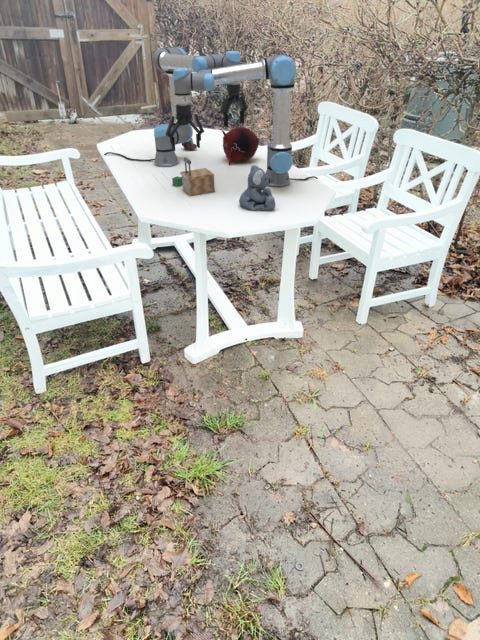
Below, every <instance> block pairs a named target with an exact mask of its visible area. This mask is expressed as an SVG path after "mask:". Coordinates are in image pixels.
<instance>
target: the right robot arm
mask: <svg viewBox="0 0 480 640" xmlns="http://www.w3.org/2000/svg"><path fill="white" fill-rule="evenodd" d="M296 76H297V65H296V63H295V61H294V59H293V58H291V57H290V56H288V55H286V54H284V53H281V54H275V55H272V56H268V57H264V58H262V59H261V60H259V61H253V62H246V63H240V65H233V66H227V67H221V68H214V69H208V70H200V71H198V72H197V73H196V72H193V73H192V72H190V71H189V70H188V69H185V68H179V69H175V70H174V71H173V77H174V91H175V103H176V104H177V105H176V116H172V114H171V115H170V116H169V123H168V124H169V125H168V128H167V131H166V136H168V137H169V138H170V144H172V150H173V151H174V152H176V145H175V140H174V137H173V135H174V134H175V132H176V131H177V129H178V128H179V126H180V125H184V124H190V125H191V127H192V129H193V131H195V132H196V134H195V142H196V143H195V144H196V147H197V149H200V148H201V145H200V144H201V142H200V141H202V134H204V133H205V129H204V128H203V126H202V124H201V121H200V120H199V117H198V114H197V113H192V105H191V92H210V91H214V89H215V86H219V85H227V84H228V83H233V82H240V83H241V82H246V81H253V80H259V79H260V80H261V79H263V80H265V81H268V80H270V89H271V91H272V93H273V102H272V103H273V105H272V140H269V141H268V142H267V146H266V148H267V151H266V152H267V153H266V171H265V173H266V174H267V177H268V178H269V179H270V183H269V184H268V185H267V187H273V188H283V187H286V186H288V185H290V184H291V181H307V180H308V179H313V178H314V179H316V180H319V178H318V177H317V176H314V175H313V176H307V177H305V178H290V174H289V171H290V170H291V168H293V163H294V162H293V161H294V159H293V157H292V155H293V145H292V143H290V133H291V131H290V129H291V105H292V104H291V103H292V101H291V100H292V98H291V97H292V91H293V89H295V80H296V79H295V78H296ZM175 119H177V122H176V124H175V126H174V128H173V129H172V126H173V123H174V121H175ZM192 119H193V120H194V121H195V123H196V125H195V124H194V122H193V121H192ZM171 129H172V131H171Z"/></svg>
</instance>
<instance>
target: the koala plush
mask: <svg viewBox="0 0 480 640" xmlns="http://www.w3.org/2000/svg"><path fill="white" fill-rule="evenodd" d="M269 183H270V179H269V178H268V177H267V174H266V171H265V170H264V169H263V168H261V167H259V165H257V164H253V165H250V170H249V173H248V176H247V188H246V189H245V190H244V191H243V192H242V193H241V194H240V197H239V199H238V203H239V204H240V206H241V207H242V208H246V209H247V210H252V211H255V210H261V211H272V210H274V209H275V208H276V200H275V198H274V196H273V194H272V191H271V188H270V187H268V186H267V185H268V184H269Z"/></svg>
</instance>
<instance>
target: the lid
mask: <svg viewBox="0 0 480 640" xmlns="http://www.w3.org/2000/svg"><path fill="white" fill-rule="evenodd" d="M182 160H183V162H184V171H183V170H182V171H179V175H180V176H181V177H182V176H183V177H184V178H186V179H187V180H192V179H199V178H205V177H212V176H214V177H215V173H214V172H212V171H211V170H209V169H208V168H206V167H204V168H198V169H191V164H192V160H190V159H189V158H187V157H186V156H185V157H183V159H182ZM187 165H188V167H187Z"/></svg>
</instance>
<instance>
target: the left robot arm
mask: <svg viewBox="0 0 480 640" xmlns="http://www.w3.org/2000/svg"><path fill="white" fill-rule="evenodd" d="M151 61H152V64H153V67H154V68H155V69H157V70H158V71H161V72H165V74H166V75H167V76H168V83H169V95H170V107H171V115H172V116H176V105H177V104H176V103H175V91H174V77H173V71H174V70H175V69H179V68H185V69H188V70H189V72H194V73H197V72H198V71H200V70H208V69H214V68H221V67H227V66H233V65H240V64H241V52H240V51H238V50H228V51H226V53H225V54H219V53H216V54H215V53H214V54H211V55H189V54H187V52H186V51H185V50H184V49H183V48H182V47H180V46H179V47H176V46H175V47H162V48H158V49H156V50H155V51H154V52H153V54H152V59H151ZM226 91H227V94H223V99H222V103H221V108H220V111H219V114H221V115H222V120H223V127H224V128H229V114H228V113H229V110H230V108H231V106H232V105H233V104H234V103H236V104H237V107H238V108H239V109H240V110H239V123H240V124H245V116H246V112H247V110H248V105H247V101H246V99H245V94H244V92H243V91H241V81H240V82H233V83H227V84H226ZM176 122H177V119H175V121H174V123H173V126H172V129H173V128H174V126H175V124H176ZM168 125H169V123H161V124H158V125H156V126H155V127H154V129H153V136H154V145H155V155H154V158H150V159H142V158H141V159H139V158H131V157H127V156H126V155H125V154H122V153H118V152H117V153H116V152H112V151H108V152H105V153H104V154H103V156H106V155H109V154H111V155H116V156H121V157H122V158H125V159H126V160H129V161H138V162H153V161H154V165H155V166H157V167H163V168H164V167H165V168H167V167H168V168H169V167H174V166H177V165H178V164H179V159H178V157H177V153H176V151H173V150H172V144H170V138H169V137H168V136H166V131H167V128H168ZM172 129H171V131H172ZM193 135H194V128H193V127H192V126H191V125H190V124H184V125H180V126H179V128H178V129H177V131H176V132H175V134H174V135H173V137H174V140H175V146H176V145H181V144H182V143H185V142H188V141H189V140H190V139H191V138H192V139H193Z"/></svg>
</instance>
